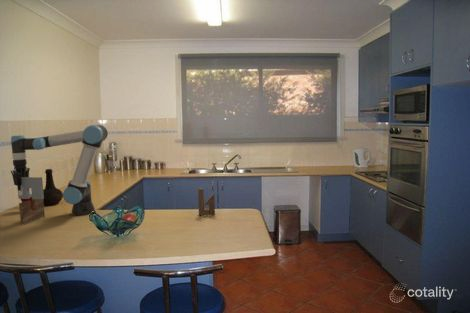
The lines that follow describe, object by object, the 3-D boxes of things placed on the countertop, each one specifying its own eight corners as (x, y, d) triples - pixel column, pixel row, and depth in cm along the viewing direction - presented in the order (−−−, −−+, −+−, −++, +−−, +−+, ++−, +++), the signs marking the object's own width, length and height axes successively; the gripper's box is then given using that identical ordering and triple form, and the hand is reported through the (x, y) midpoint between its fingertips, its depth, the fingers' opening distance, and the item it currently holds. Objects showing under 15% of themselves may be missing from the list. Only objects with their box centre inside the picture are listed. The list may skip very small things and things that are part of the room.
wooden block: (215, 214, 238) (214, 188, 236) (198, 215, 237) (197, 189, 235) (214, 213, 242) (213, 187, 240) (198, 214, 240) (197, 188, 238)
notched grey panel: (43, 198, 232) (42, 177, 230) (41, 199, 230) (39, 177, 228) (20, 197, 236) (19, 177, 234) (18, 198, 234) (16, 177, 233)
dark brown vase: (39, 203, 286) (36, 168, 283) (63, 200, 293) (60, 166, 290) (37, 208, 270) (34, 171, 267) (63, 205, 277) (60, 169, 274)
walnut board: (44, 217, 243) (43, 197, 242) (23, 224, 226) (21, 203, 224) (42, 217, 243) (40, 196, 242) (21, 224, 226) (19, 203, 225)
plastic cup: (19, 211, 261) (18, 195, 260) (36, 208, 268) (34, 193, 266) (21, 214, 253) (20, 197, 251) (38, 211, 259) (37, 195, 258)
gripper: (23, 157, 240) (26, 192, 242) (4, 160, 225) (8, 197, 228) (33, 157, 238) (36, 192, 241) (14, 160, 223) (18, 197, 226)
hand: (22, 194), depth 234 cm, fingers closed on notched grey panel, 2 cm apart
